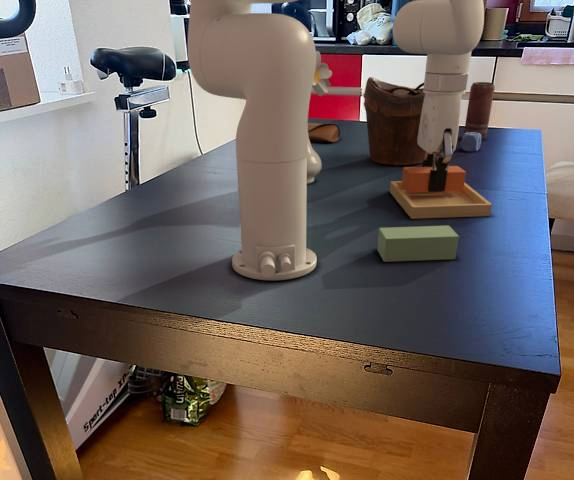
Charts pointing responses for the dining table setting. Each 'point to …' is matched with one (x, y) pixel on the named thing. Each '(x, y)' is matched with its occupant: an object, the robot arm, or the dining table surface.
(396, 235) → the pad sage
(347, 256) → the dining table surface
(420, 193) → the wooden tray
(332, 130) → the sunglasses case
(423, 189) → the pad terracotta
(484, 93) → the can
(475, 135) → the decorative dice
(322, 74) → the flower vase
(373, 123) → the wooden bucket
